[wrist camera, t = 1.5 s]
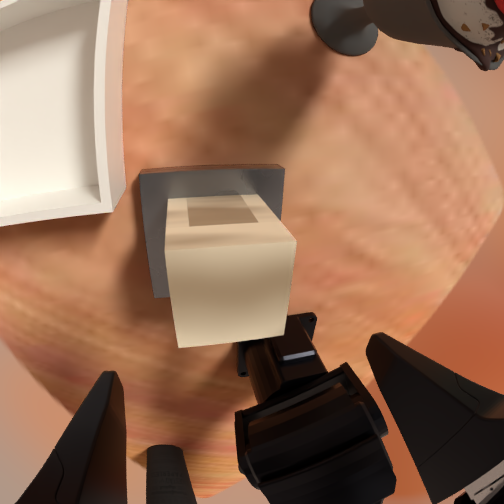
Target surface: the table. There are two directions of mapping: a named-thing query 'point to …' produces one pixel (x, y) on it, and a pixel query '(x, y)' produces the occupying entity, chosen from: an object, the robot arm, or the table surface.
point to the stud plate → (198, 185)
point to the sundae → (415, 25)
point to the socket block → (227, 269)
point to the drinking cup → (167, 477)
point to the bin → (60, 108)
